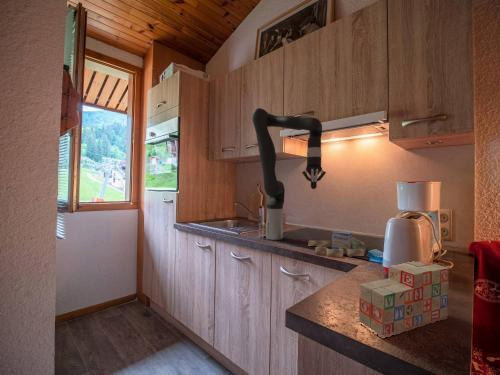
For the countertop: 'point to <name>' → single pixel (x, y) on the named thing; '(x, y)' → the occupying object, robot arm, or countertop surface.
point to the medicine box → (341, 240)
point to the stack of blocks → (405, 297)
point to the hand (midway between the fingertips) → (313, 188)
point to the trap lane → (355, 243)
